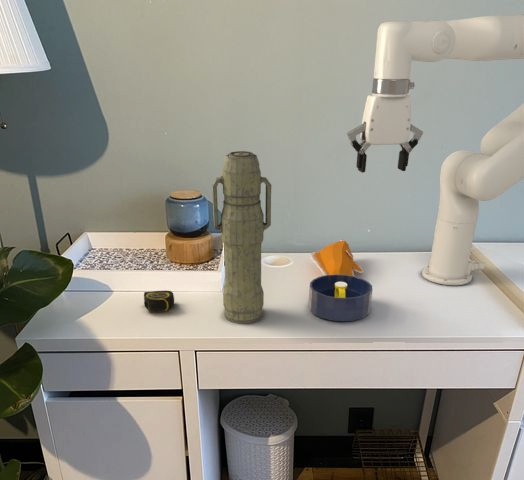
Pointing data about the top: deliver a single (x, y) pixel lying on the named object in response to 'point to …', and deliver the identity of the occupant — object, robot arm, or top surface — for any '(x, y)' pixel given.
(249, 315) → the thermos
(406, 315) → the top surface
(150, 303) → the tape measure
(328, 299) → the navy bowl
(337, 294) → the watch
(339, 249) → the fish
